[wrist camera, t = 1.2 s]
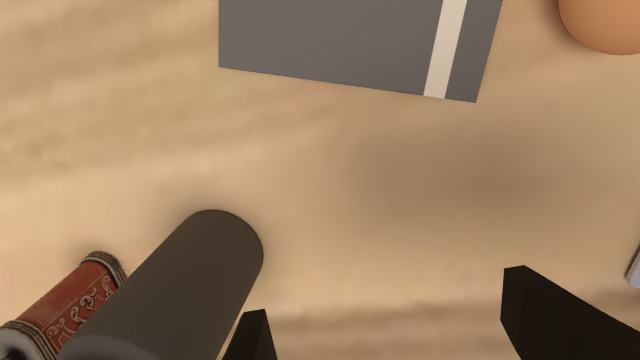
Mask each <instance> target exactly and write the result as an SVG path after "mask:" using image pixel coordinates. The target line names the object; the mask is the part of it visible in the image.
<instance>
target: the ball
mask: <svg viewBox="0 0 640 360" xmlns="http://www.w3.org/2000/svg"><path fill="white" fill-rule="evenodd" d="M558 5H559V12H560V15H561V19H562V21H563V23H564V25H565V27H566V29H567V30H568V31H569V33H570V34H571V35H572V36H573V37H574V38H575V39H576V40H577V41H578V42H580V43H581V44H582V45H584V46H586V47H588V48H590V49H592V50H595V51H598V52H601V53H606V54H613V55H633V54H639V53H640V0H558Z"/></svg>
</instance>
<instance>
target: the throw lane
mask: <svg viewBox="0 0 640 360" xmlns="http://www.w3.org/2000/svg"><path fill="white" fill-rule="evenodd" d="M502 2H503V0H219V67H221V68H229V69H236V70H243V71H250V72H258V73H265V74H272V75H279V76H286V77H294V78H301V79H308V80H315V81H322V82H330V83H337V84H344V85H351V86H358V87H366V88H373V89H380V90H387V91H394V92H402V93H409V94H416V95H423V96H428V97H435V98H443V99H444V98H445V99H452V100H459V101H466V102H474V103H476V99H477V96H478V92H479V88H480V84H481V80H482V77H483V73H484V69H485V65H486V62H487V58H488V54H489V50H490V47H491V43H492V39H493V35H494V32H495V28H496V24H497V20H498V17H499V13H500V9H501V5H502Z"/></svg>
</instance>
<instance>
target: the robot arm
mask: <svg viewBox="0 0 640 360" xmlns="http://www.w3.org/2000/svg"><path fill="white" fill-rule="evenodd" d="M626 279H627V282H628V283H629V284H630V285H631V286H632V287H634V288H637V289H640V251H639V253H638V255H637V257H636V259H635V261H634V263H633V265H632V267H631V269H630V271H629V272H628V274H627V277H626ZM500 320H501V323H502V325H503V327H504V329H505V331H506V333H507V335H508V337H509V339H510V341H511V342H512V344H513V346H514V348H515V350H516V352H517V353H518V355H519V357H520V358H521V360H640V332H639V331H637V330H635V329H633V328H632V327H630V326H628V325H626V324H624V323H622V322H620V321H618V320H617V319H615V318H613V317H611V316H609V315H608V314H606V313H604V312H602V311H600V310H599V309H597V308H595V307H593V306H592V305H590V304H588V303H587V302H585V301H583V300H582V299H580V298H578V297H577V296H575V295H573V294H572V293H570V292H568V291H567V290H565V289H563V288H562V287H560V286H558V285H557V284H555V283H553V282H552V281H550V280H549V279H547V278H545V277H544V276H542V275H540V274H539V273H537V272H535V271H534V270H532V269H530V268H529V267H527V266H525V265H522V266H516V267H510V268H504V279H503V291H502V304H501V317H500ZM222 360H277V355H276V351H275V347H274V343H273V339H272V335H271V331H270V327H269V323H268V319H267V315H266V311H265V309H260V310H254V311H248V312H244V313H243V314H242V316H241V318H240V320H239V323H238V325H237V328H236V330H235V333H234V335H233V337H232V339H231V342H230V344H229V346H228V348H227V350H226V352H225V354H224V356H223V358H222Z"/></svg>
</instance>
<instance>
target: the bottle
mask: <svg viewBox="0 0 640 360" xmlns="http://www.w3.org/2000/svg"><path fill="white" fill-rule="evenodd" d="M262 263H263V251H262V247H261V243H260V241H259V239H258V237H257V236H256V234H255V232H254V231H253V230H252V229H251V228H250V226H248V225H247V224H246V223H245V222H244V221H242V220H241V219H239V218H238V217H236V216H234V215H231V214H229V213H226V212H223V211H216V210H207V211H201V212H198V213H195V214H193V215H191V216H190V217H188V218H187V219H186V220H185V221H184V222H183V223H182V224H181V225H180V226H178V227H177V228H176V229H175V230H174V231H173V232H172V233H171V234H170V235H169V236H168V237H167V238H166V239H165V240H164V241H163V242H162V244H161V245H160V246H159V247H158V248H157V249H156V250H155V251H154V252H153V253H152V254H151V255H150V256H149V257H148V258H147V259H146V260H145V261H144V262H143V263H142V264H141V265H140V266H139V267H138V268H137V269H136V270H135V271H134V272H133V273H132V274H131V275H130V276H129V277H128V278H127V279H126V280H125V281H124V282H123V283H122V285H121V286H120V287H119V288H118V289H117V290H116V291H115V292H114V293H113V294H112V295H111V296H110V297H109V298H108V299H107V300H106V301H105V302H104V303H103V304H102V305H101V306H100V307H99V308H98V309H97V310H96V311H95V312H94V313H93V314H92V315H91V316H90V317H89V318H88V320H87V321H86V322H85V323H84V324H83V325H82V326H81V327H80V328H79V329H78V330H77V331H76V332H75V333H74V334H73V335H72V336H71V337H70V339H69V340H68V341H67V342H66V343H65V344H64V345H63V347H62V348H61V350H60V351H59V353H58V355H57V358H56V360H216V358H217V356H218V354H219V352H220V350H221V348H222V346H223V344H224V342H225V340H226V338H227V336H228V334H229V333H230V331H231V329H232V327H233V325H234V323H235V321H236V319H237V317H238V315H239V313H240V311H241V309H242V307H243V305H244V303H245V301H246V299H247V297H248V295H249V293H250V291H251V289H252V287H253V285H254V283H255V280H256V278H257V276H258V274H259V272H260V270H261V267H262Z"/></svg>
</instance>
